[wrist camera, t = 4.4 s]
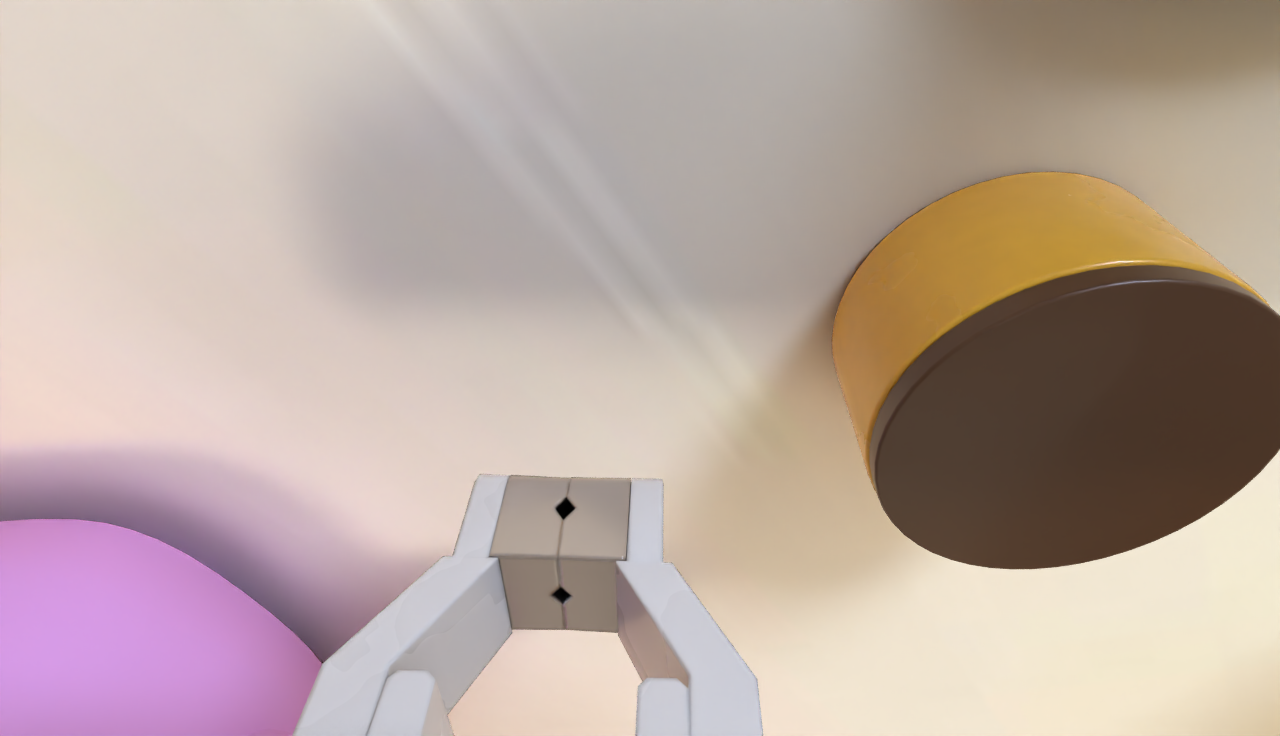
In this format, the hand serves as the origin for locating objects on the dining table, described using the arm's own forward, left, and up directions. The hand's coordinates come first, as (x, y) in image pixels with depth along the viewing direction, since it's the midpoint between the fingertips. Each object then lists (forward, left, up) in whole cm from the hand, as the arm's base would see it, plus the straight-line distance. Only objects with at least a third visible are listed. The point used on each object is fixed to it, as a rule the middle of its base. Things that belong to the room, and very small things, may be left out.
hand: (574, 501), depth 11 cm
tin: (0, +9, -5) cm, 10 cm away
